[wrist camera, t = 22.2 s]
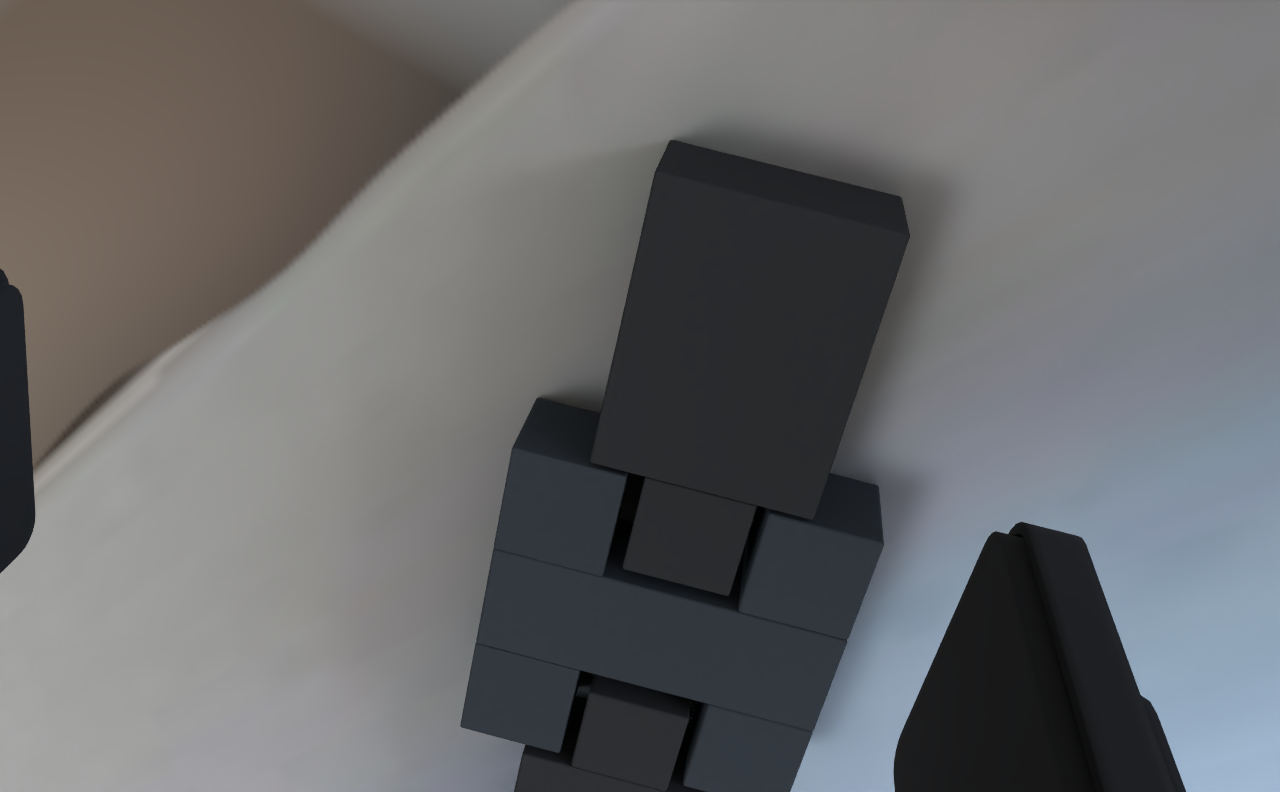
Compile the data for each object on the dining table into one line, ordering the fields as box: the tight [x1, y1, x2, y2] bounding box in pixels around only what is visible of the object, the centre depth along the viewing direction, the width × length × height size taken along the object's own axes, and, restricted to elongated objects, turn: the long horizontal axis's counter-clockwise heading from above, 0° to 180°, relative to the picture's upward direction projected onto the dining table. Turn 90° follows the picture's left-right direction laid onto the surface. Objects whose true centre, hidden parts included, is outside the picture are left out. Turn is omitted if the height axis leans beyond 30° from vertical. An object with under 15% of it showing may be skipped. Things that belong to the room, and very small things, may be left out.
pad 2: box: [590, 140, 910, 596], centre depth 30 cm, size 11×6×3 cm, turn 168°
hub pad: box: [461, 398, 884, 792], centre depth 34 cm, size 10×10×3 cm
